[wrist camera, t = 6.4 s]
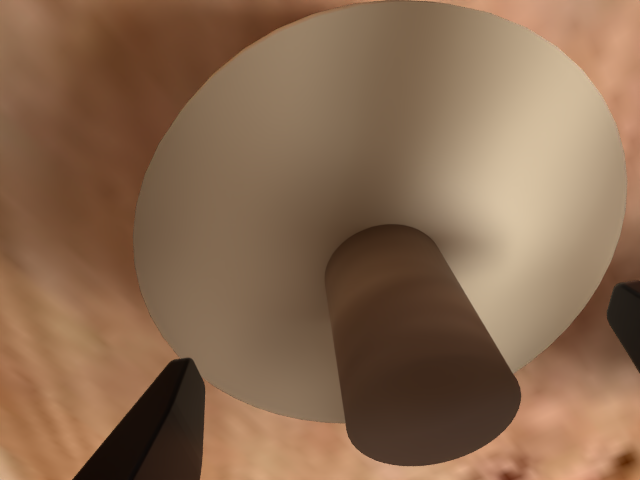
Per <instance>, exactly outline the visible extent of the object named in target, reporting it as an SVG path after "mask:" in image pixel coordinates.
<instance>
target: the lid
mask: <svg viewBox="0 0 640 480" xmlns="http://www.w3.org/2000/svg"><path fill="white" fill-rule="evenodd" d="M626 195H627V174H626V164H625V155H624V150H623V146H622V143H621V139H620V136H619V132H618V129H617V125H616V123H615V121H614V119H613V117H612V115H611V113H610V111H609V109H608V106H607V104H606V102H605V100H604V98H603V96H602V95H601V94H600V92H599V91H598V90H597V88H596V87H595V86H594V84H593V83H592V82H591V80H590V79H589V78H588V76H587V75H586V74H585V72H584V71H583V70H582V69H581V68H580V67H579V66H578V65H577V64H575V63H574V62H573V61H572V60H571V59H570V58H569V57H568V56H567V55H566V54H565V53H563V52H562V51H561V50H560V49H559V48H558V47H557V46H555V45H553V44H552V43H550V42H549V41H547V40H545V39H544V38H542V37H541V36H539V35H537V34H536V33H534V32H533V31H531V30H529V29H528V28H526V27H524V26H521V25H519V24H516V23H514V22H511V21H509V20H506V19H504V18H501V17H499V16H496V15H494V14H491V13H488V12H483V11H479V10H474V9H470V8H465V7H460V6H456V5H451V4H445V3H437V2H427V1H409V0H384V1H374V2H364V3H354V4H349V5H346V6H342V7H338V8H334V9H330V10H326V11H322V12H318V13H314V14H312V15H309V16H307V17H304V18H302V19H299V20H297V21H295V22H292V23H290V24H287V25H285V26H283V27H280V28H278V29H276V30H274V31H273V32H271V33H269V34H267V35H266V36H264V37H262V38H261V39H259V40H257V41H256V42H254V43H252V44H251V45H249V46H247V47H246V48H244V49H243V50H241V51H240V52H239V53H238V54H237V55H235V56H234V57H233V58H232V59H230V60H229V61H228V62H227V63H225V64H224V65H223V66H222V67H221V68H219V69H218V70H217V71H216V72H214V73H213V74H212V76H211V77H210V78H209V79H208V80H207V81H206V82H205V83H204V84H203V85H202V87H201V88H200V89H199V90H198V91H197V92H196V93H195V94H194V95H193V96H192V97H191V99H190V100H189V101H188V102H187V104H186V105H185V106H184V107H183V109H182V110H181V111H180V113H179V114H178V116H177V117H176V119H175V120H174V122H173V123H172V125H171V126H170V128H169V129H168V131H167V132H166V134H165V135H164V137H163V138H162V140H161V141H160V143H159V145H158V147H157V149H156V151H155V153H154V156H153V158H152V160H151V162H150V164H149V167H148V169H147V171H146V173H145V176H144V179H143V183H142V186H141V190H140V194H139V197H138V201H137V204H136V211H135V221H134V230H133V247H134V264H135V269H136V273H137V278H138V282H139V287H140V291H141V294H142V296H143V299H144V301H145V304H146V306H147V309H148V311H149V314H150V316H151V317H152V319H153V321H154V323H155V324H156V326H157V328H158V329H159V331H160V333H161V334H162V336H163V338H164V339H165V340H166V341H167V343H168V344H169V345H170V346H171V348H172V349H173V350H174V351H175V353H176V354H177V355H178V356H179V357H180V358H187V357H189V358H192V359H193V361H194V362H195V364H196V367H197V369H198V371H199V373H200V375H201V377H202V378H204V379H205V380H207V381H208V382H209V383H211V384H212V385H213V386H215V387H216V388H218V389H220V390H222V391H223V392H225V393H227V394H229V395H230V396H232V397H234V398H236V399H238V400H240V401H243V402H245V403H247V404H250V405H252V406H254V407H257V408H260V409H263V410H266V411H269V412H272V413H275V414H278V415H283V416H287V417H292V418H297V419H301V420H309V421H317V422H325V423H346V430H347V433H348V437H349V439H350V440H351V442H352V444H353V445H354V446H355V447H356V448H357V449H358V450H359V451H360V452H361V453H363V454H364V455H366V456H368V457H369V458H372V459H374V460H376V461H379V462H383V463H387V464H392V465H399V466H424V465H432V464H438V463H443V462H446V461H450V460H454V459H457V458H459V457H462V456H465V455H467V454H469V453H472V452H474V451H476V450H478V449H480V448H482V447H483V446H485V445H486V444H488V443H490V442H491V441H492V440H494V439H495V438H496V437H498V436H499V435H500V434H501V433H502V432H503V431H504V430H505V429H506V428H507V427H508V426H509V424H510V423H511V422H512V420H513V419H514V417H515V415H516V413H517V411H518V409H519V405H520V401H521V391H520V387H519V384H518V381H517V380H516V378H515V376H514V374H513V373H515V372H516V371H518V370H519V369H521V368H522V367H524V366H525V365H526V364H528V363H529V362H531V361H532V360H533V359H534V358H535V357H537V356H538V355H539V354H540V353H541V352H543V351H544V350H545V349H546V348H548V347H549V346H550V345H551V344H552V343H553V342H554V341H555V340H556V339H557V338H558V337H559V336H560V335H561V334H562V333H563V332H564V331H565V330H566V329H567V328H568V327H569V326H570V324H571V323H572V322H573V321H574V319H575V318H576V317H577V316H578V315H579V313H580V312H581V311H582V310H583V309H584V307H585V306H586V304H587V303H588V301H589V300H590V298H591V297H592V295H593V294H594V292H595V291H596V289H597V288H598V286H599V284H600V282H601V280H602V278H603V276H604V274H605V272H606V270H607V268H608V266H609V264H610V262H611V260H612V257H613V254H614V252H615V249H616V246H617V243H618V240H619V238H620V234H621V229H622V224H623V220H624V215H625V210H626Z"/></svg>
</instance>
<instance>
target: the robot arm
mask: <svg viewBox="0 0 640 480" xmlns="http://www.w3.org/2000/svg"><path fill="white" fill-rule="evenodd" d="M607 319H608V322H609V324H610V326H611V327H612V329H613V331H614V332H615V334H616V336H617V337H618V339H619V340H620V342H621V344H622V345H623V347H624V349H625V350H626V352H627V353H628V355H629V357H630V358H631V360H632V362H633V363H634V365H635V366H636V368H637V370H638V371H639V373H640V281H638V280H634V281H628V282H623V283H618V284H617V285H616V286H615V287H614V289H613V292H612V295H611V299H610V302H609V306H608V309H607ZM204 410H205V385H204V382H203V379H202V377H201V375H200V373H199V371H198V369H197V367H196V364H195V362H194V361H193V359H192V358H189V357H187V358H181V359H176V360H172V361H171V362H170V363H169V364H168V365H167V366H166V367H165V369H164V370H163V371H162V372H161V373H160V375H159V376H158V377H157V378H156V379H155V381H154V382H153V383H152V384H151V385H150V387H149V388H148V389H147V390H146V391H145V393H144V394H143V395H142V396H141V397H140V399H139V400H138V401H137V402H136V403H135V405H134V406H133V407H132V408H131V409H130V411H129V412H128V413H127V414H126V416H125V417H124V418H123V419H122V420H121V422H120V423H119V424H118V425H117V426H116V428H115V429H114V430H113V431H112V432H111V434H110V435H109V436H108V437H107V438H106V440H105V441H104V442H103V443H102V444H101V446H100V447H99V448H98V449H97V450H96V452H95V453H94V454H93V455H92V456H91V458H90V459H89V460H88V461H87V462H86V464H85V465H84V466H83V467H82V469H81V470H80V471H79V472H78V473H77V475H76V476H75V477H74V478H73V479H72V480H200V475H201V467H202V455H203V433H204Z"/></svg>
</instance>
